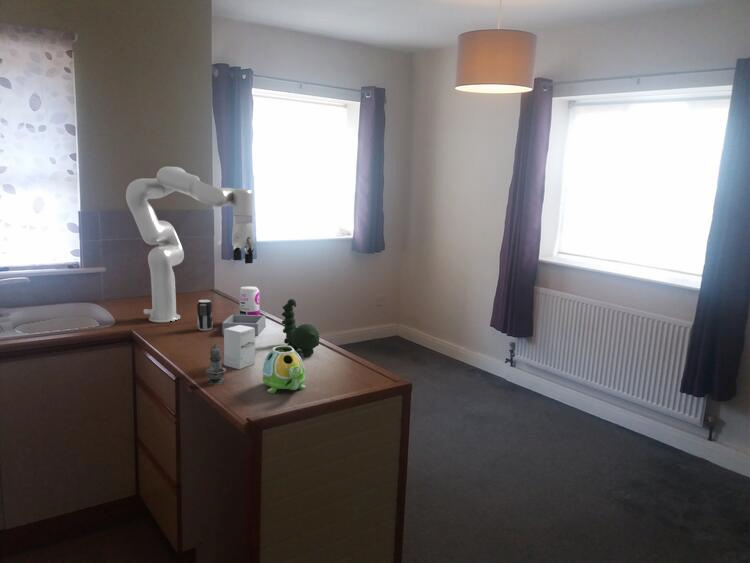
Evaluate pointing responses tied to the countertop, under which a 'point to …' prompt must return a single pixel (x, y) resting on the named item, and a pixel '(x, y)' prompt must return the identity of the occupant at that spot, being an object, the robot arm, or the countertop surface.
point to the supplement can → (249, 300)
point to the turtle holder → (283, 369)
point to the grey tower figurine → (215, 367)
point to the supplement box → (239, 346)
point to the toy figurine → (299, 332)
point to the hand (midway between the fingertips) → (243, 261)
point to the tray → (245, 322)
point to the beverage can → (204, 315)
